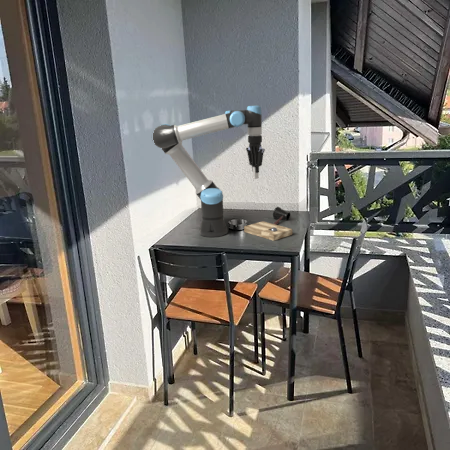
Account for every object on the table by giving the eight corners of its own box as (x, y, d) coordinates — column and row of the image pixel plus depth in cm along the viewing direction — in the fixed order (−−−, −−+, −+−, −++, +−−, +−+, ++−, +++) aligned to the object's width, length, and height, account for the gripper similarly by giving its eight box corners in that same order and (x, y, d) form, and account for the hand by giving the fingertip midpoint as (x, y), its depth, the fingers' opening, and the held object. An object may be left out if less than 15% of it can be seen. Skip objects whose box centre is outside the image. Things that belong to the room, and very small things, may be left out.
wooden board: (273, 240, 221) (273, 235, 220) (244, 231, 237) (244, 226, 236) (292, 234, 229) (292, 229, 229) (262, 226, 246) (262, 221, 245)
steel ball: (275, 233, 226) (271, 227, 227) (270, 236, 230) (267, 230, 230) (280, 232, 229) (277, 225, 230) (275, 235, 232) (272, 228, 233)
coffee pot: (278, 216, 264) (291, 219, 260) (262, 227, 252) (275, 231, 247) (279, 204, 261) (292, 208, 256) (263, 215, 248) (276, 219, 244)
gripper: (268, 135, 234) (268, 178, 240) (252, 134, 244) (253, 176, 250) (257, 136, 229) (258, 180, 236) (241, 135, 239) (243, 178, 246)
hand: (255, 178), depth 243 cm, fingers closed
